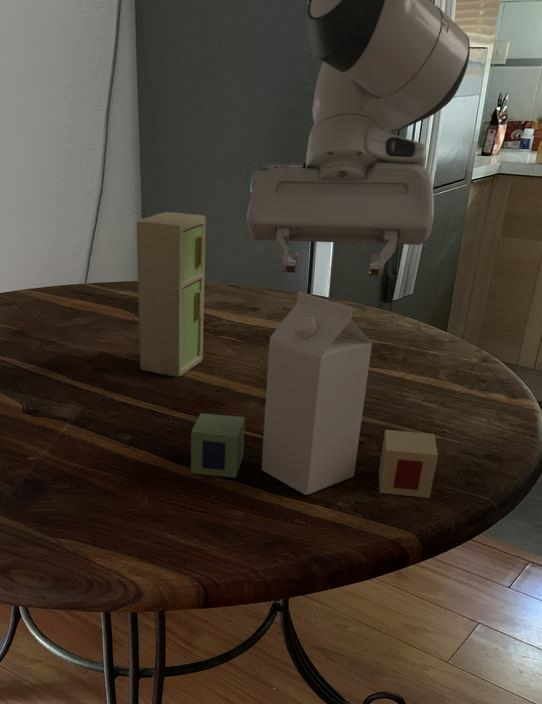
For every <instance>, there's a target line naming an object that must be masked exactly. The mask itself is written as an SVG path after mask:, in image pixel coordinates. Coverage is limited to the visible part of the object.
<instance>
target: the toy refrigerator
mask: <svg viewBox="0 0 542 704" xmlns="http://www.w3.org/2000/svg"><path fill="white" fill-rule="evenodd" d="M206 221H207V220H206V216H205V215H202V214H193V213H192V214H191V213H180V212H171V211H170V212H169V211H165V212H160V213H157V214H154V215H152V216H151V215H150V216H148V217H144V218H142V219H138V220H137V222H136V248H137V254H136V255H137V281H138V285H137V286H138V287H137V288H138V324H139V325H138V328H139V362H140V363H139V367H140V371H141V370H142V371H143V372H148V373H149V372H150V373H156V374H160V375H166V376H170V377H175V378H179V377H181V376H183V375H184V374H185V373H187V372H188V371H190V370H191V369H193V368H194V367H195V366H197V365H198V364H200V363H201V362H202V361H203V359H204V310H205V270H206V269H205V268H206V267H205V266H206Z"/></svg>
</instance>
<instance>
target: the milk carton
mask: <svg viewBox="0 0 542 704" xmlns="http://www.w3.org/2000/svg"><path fill="white" fill-rule="evenodd" d="M353 309H354V307H351V306H347V305H345V304H342V303H338V302H335V301H331V300H328V299H325V298H321V297H318V296H315V295H311V294H307V293H304V292H300V291H298V292H297V300H296V304H295V305H294V306H293V308H292V309H291V310H290V311H289V312H288V314H287V315H286V316H285V317H284V319H283V320H282V321H281V323H280V324H279V325H278V326H277V328H276V329H275V330H274V331H273V333H272V334H271V335H270V337H269V342H268V343H269V345H268V359H267V360H268V361H267V375H266V391H265V404H264V405H265V406H264V407H265V408H264V423H263V438H262V455H261V470H262V471H263V472H265V473H266V474H268V475H269V476H271V477H272V478H274V479H277V480H278V481H280V482H282V483H283V484H285V485H287V486H288V487H290V488H292V489H294V490H296V491H297V492H299V493H301V494H303V495H304V496H309V495H311V494H313V493H316V492H319V491H321V490H324V489H326V488H329V487H331V486H334V485H336V484H338V483H341V482H343V481H346V480H348V479H351V478H353V477H354V476H355V471H356V465H357V464H356V463H357V456H358V448H359V441H360V434H361V427H362V420H363V412H364V404H365V398H366V391H367V383H368V375H369V367H370V361H371V355H372V354H371V353H372V347H373V342H372V341H371V340H370V339H369V337H367V335H366V334H365V333H364V332H363V331H362V330H361V329H360V328H359V326H358V325H357V324H356V323H355V322H354V320H353V319H352V318H353Z"/></svg>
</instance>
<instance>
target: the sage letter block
mask: <svg viewBox="0 0 542 704" xmlns="http://www.w3.org/2000/svg"><path fill="white" fill-rule="evenodd" d="M245 419H246V418H245V416H235V415H223V414H212V413H200V414H199V415H198V417H197V420H196V422H195V423H194V426H193V428H192V430H191V432H190V474H197V475H206V476H216V477H225V478H234V479H236V478H237V476H238V473H239V470H240V468H241V465H242V461H243V458H244V443H245V442H244V441H245V439H244V438H245V421H246V420H245Z"/></svg>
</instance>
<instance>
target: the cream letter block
mask: <svg viewBox="0 0 542 704" xmlns="http://www.w3.org/2000/svg"><path fill="white" fill-rule="evenodd" d="M438 457H439V453H438V447H437V441H436V435H435V433H426V432H417V431H416V432H415V431H404V430H395V429H394V430H393V429H385V430H384V436H383V443H382V448H381V455H380V462H379V469H378V493H379V494H385V495H386V494H387V495H396V496H405V497H414V498H424V499H430V497H431V493H432V488H433V483H434V477H435V474H436V473H435V472H436V467H437V462H438Z"/></svg>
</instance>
